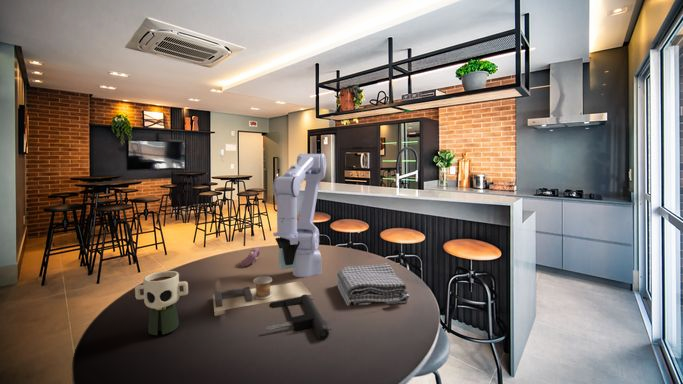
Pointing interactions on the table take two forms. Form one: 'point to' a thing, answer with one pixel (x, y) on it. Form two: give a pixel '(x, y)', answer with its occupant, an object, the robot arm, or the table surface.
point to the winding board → (276, 296)
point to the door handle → (301, 318)
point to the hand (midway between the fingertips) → (287, 262)
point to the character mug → (162, 300)
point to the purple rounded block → (251, 257)
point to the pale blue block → (282, 262)
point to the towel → (371, 285)
